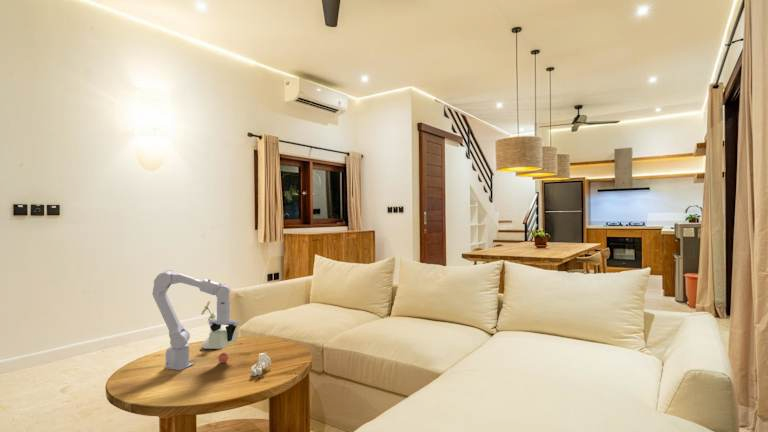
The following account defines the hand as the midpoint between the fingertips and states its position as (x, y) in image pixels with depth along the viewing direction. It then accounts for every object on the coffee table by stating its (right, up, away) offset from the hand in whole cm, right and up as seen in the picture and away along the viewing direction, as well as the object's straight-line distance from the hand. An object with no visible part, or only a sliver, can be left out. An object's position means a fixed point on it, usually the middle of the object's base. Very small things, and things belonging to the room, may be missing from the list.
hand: (223, 340), depth 191 cm
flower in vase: (-15, -11, +21) cm, 28 cm away
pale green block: (0, -2, 0) cm, 2 cm away
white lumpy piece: (+21, -10, -17) cm, 29 cm away
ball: (0, -8, 0) cm, 8 cm away
